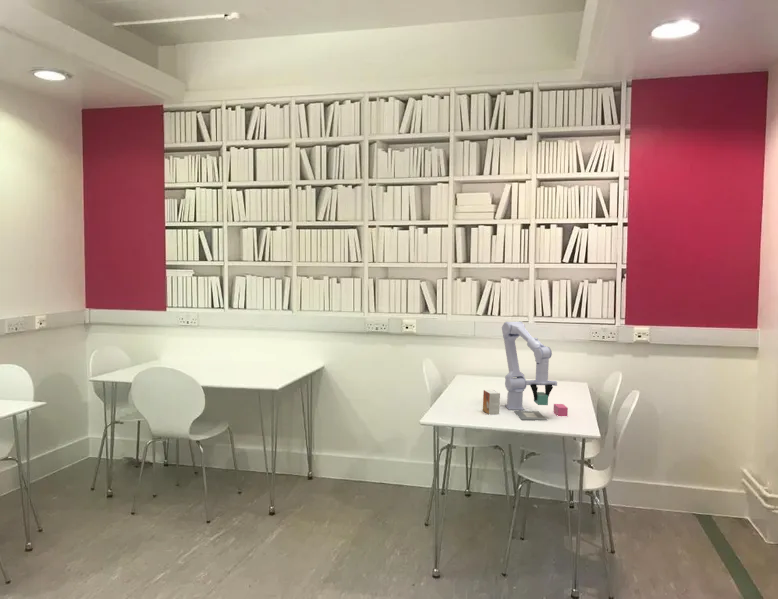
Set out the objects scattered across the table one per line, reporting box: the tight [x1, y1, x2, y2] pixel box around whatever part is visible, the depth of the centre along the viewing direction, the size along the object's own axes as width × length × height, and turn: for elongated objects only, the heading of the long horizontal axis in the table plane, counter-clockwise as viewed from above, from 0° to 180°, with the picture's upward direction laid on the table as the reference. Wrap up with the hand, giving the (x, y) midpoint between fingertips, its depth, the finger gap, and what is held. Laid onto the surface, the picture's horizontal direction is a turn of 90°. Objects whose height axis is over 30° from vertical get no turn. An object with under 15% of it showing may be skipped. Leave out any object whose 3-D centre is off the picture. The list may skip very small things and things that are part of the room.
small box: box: [482, 389, 501, 415], centre depth 307 cm, size 8×6×10 cm
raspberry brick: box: [552, 403, 569, 417], centre depth 307 cm, size 8×5×4 cm, turn 1°
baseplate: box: [513, 410, 548, 421], centre depth 302 cm, size 16×12×1 cm
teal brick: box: [533, 391, 549, 406], centre depth 300 cm, size 8×5×4 cm, turn 1°
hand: (540, 400), depth 300 cm, fingers closed on teal brick, 5 cm apart
